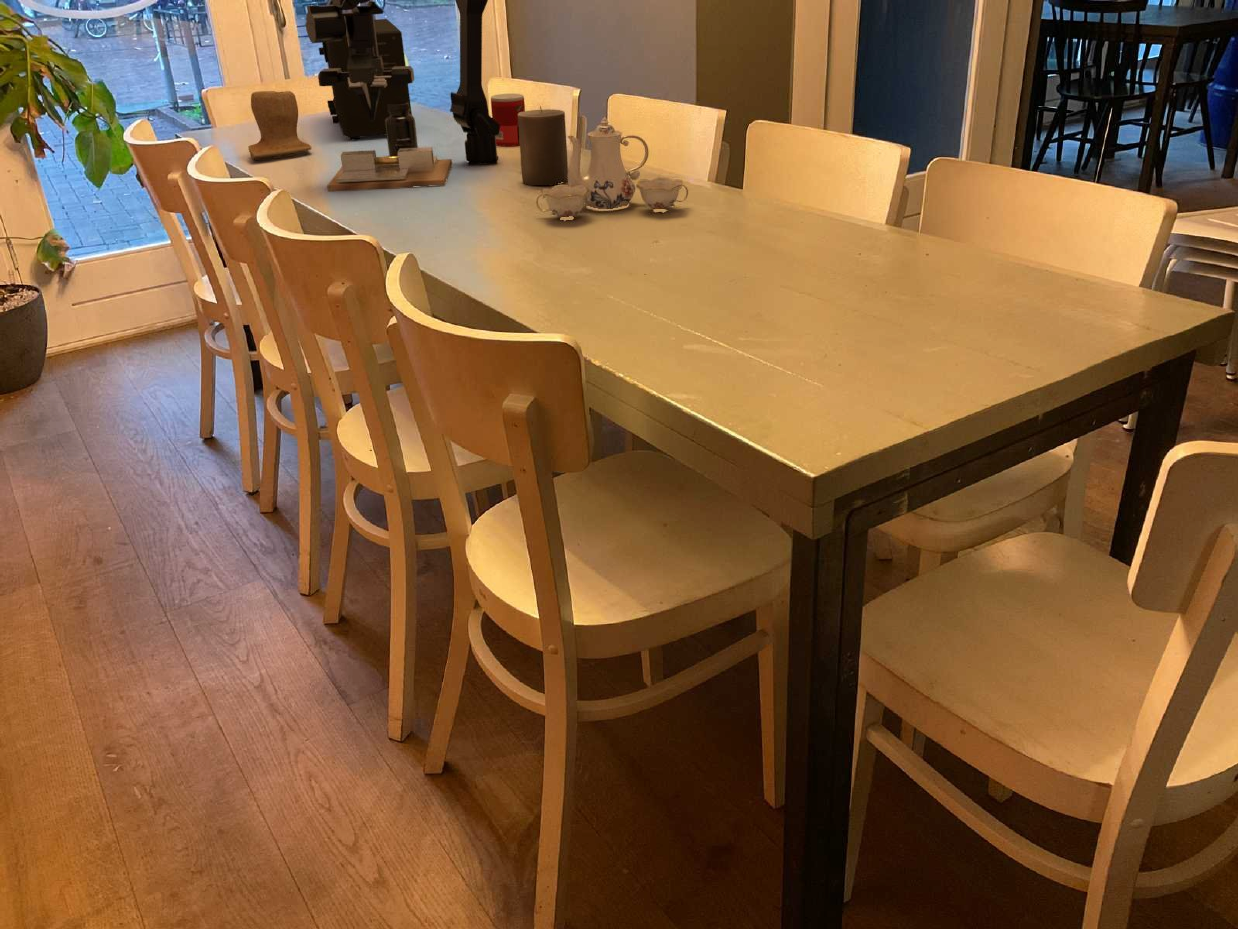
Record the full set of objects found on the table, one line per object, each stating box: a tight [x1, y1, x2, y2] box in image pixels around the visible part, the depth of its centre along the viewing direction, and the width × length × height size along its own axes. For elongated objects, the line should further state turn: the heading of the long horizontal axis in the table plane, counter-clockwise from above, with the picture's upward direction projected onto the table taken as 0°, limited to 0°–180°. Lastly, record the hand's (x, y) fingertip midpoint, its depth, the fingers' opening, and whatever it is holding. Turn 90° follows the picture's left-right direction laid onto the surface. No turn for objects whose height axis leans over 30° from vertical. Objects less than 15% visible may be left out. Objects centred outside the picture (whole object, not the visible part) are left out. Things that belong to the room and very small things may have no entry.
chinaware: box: [535, 117, 689, 217], centre depth 187 cm, size 28×17×17 cm, turn 106°
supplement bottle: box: [385, 102, 419, 157], centre depth 235 cm, size 7×7×12 cm
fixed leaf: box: [378, 146, 439, 173], centre depth 221 cm, size 14×11×4 cm
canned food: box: [490, 93, 526, 147], centre depth 245 cm, size 8×8×11 cm
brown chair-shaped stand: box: [247, 90, 313, 161], centre depth 240 cm, size 15×12×15 cm
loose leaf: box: [337, 149, 409, 182], centre depth 215 cm, size 14×11×4 cm
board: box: [327, 158, 453, 192], centre depth 220 cm, size 24×20×1 cm
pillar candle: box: [518, 106, 569, 186], centre depth 209 cm, size 10×10×15 cm
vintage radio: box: [318, 18, 413, 141], centre depth 267 cm, size 38×20×25 cm, turn 17°
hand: (372, 119), depth 213 cm, fingers closed
